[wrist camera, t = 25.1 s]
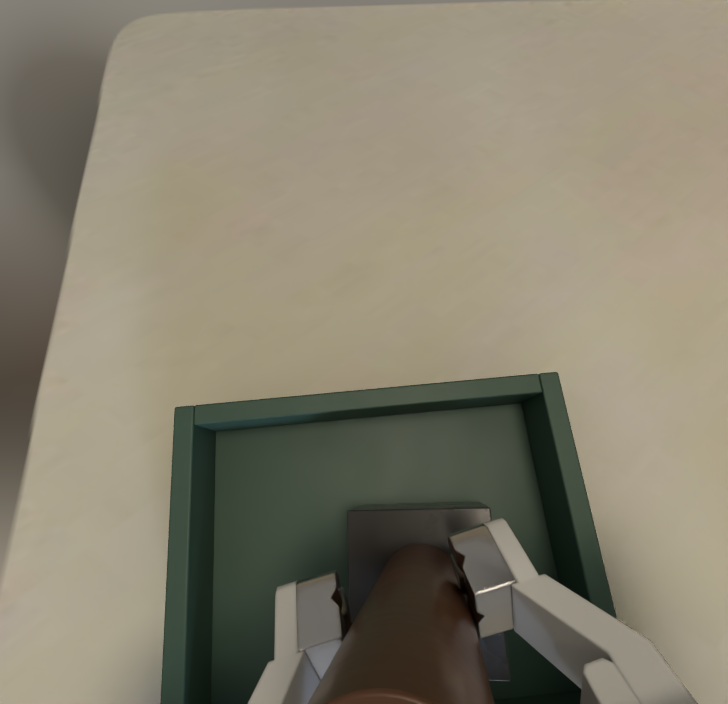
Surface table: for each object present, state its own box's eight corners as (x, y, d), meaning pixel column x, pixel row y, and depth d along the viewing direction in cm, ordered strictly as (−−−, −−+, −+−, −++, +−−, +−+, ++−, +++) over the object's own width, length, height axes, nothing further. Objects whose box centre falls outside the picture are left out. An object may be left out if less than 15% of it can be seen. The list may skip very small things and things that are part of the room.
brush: (481, 501, 17) (605, 579, 4) (496, 643, 15) (748, 1349, 3) (361, 504, 17) (182, 577, 5) (365, 640, 16) (130, 1190, 4)
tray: (529, 387, 19) (558, 371, 17) (598, 705, 16) (651, 758, 13) (204, 417, 19) (173, 406, 16) (195, 746, 16) (154, 808, 13)
